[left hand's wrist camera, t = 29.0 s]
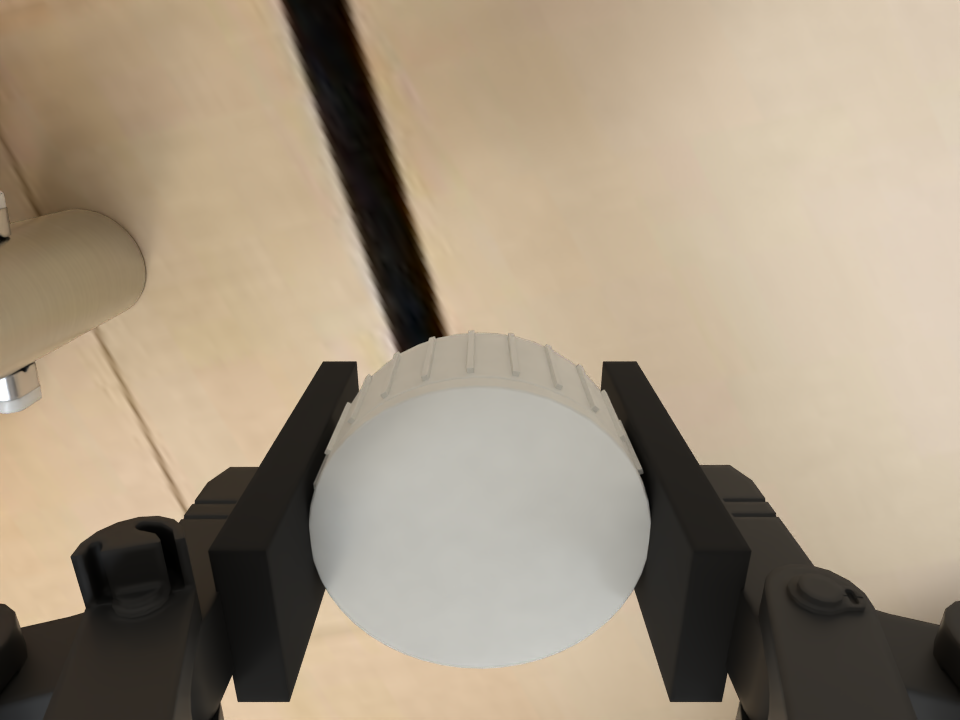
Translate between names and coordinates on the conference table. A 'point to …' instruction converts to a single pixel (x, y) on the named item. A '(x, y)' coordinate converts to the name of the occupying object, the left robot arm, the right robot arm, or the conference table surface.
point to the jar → (62, 282)
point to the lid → (479, 504)
